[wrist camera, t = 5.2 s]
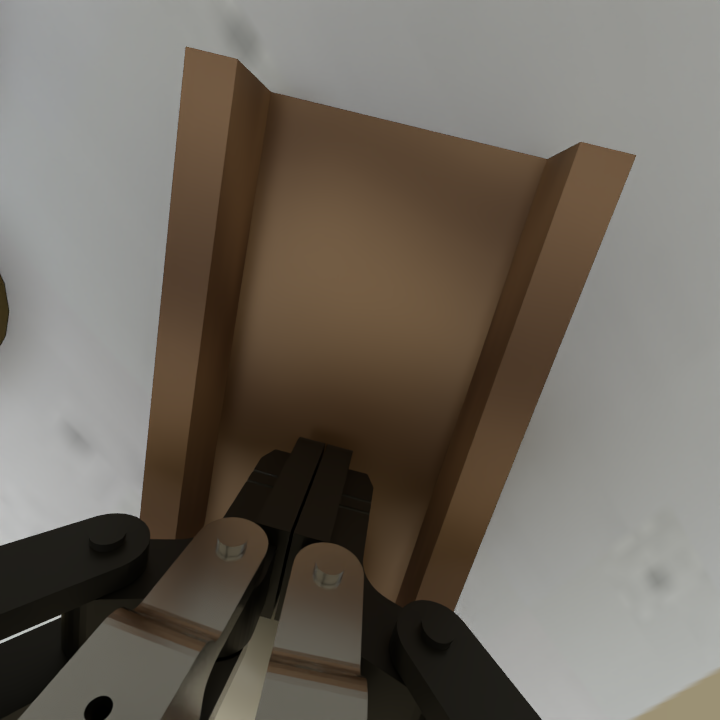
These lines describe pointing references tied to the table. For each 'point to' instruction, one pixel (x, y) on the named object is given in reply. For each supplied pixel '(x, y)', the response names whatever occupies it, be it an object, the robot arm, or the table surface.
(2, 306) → the pepper mill
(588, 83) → the table surface
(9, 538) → the table surface
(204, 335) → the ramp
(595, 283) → the table surface
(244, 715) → the ball
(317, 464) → the robot arm
